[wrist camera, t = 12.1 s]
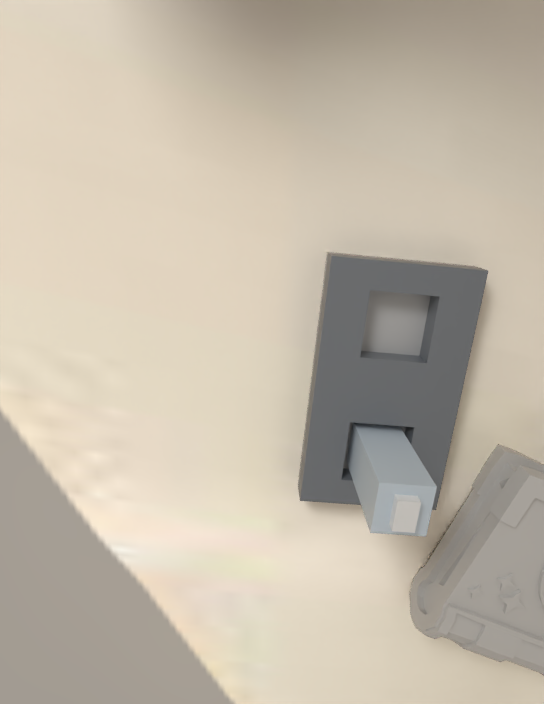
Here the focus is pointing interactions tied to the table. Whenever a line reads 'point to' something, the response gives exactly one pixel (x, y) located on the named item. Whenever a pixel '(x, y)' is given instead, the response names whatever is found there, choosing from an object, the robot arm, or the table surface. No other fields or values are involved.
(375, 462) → the plug
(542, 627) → the grey lumpy block
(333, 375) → the jack panel
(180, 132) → the table surface
